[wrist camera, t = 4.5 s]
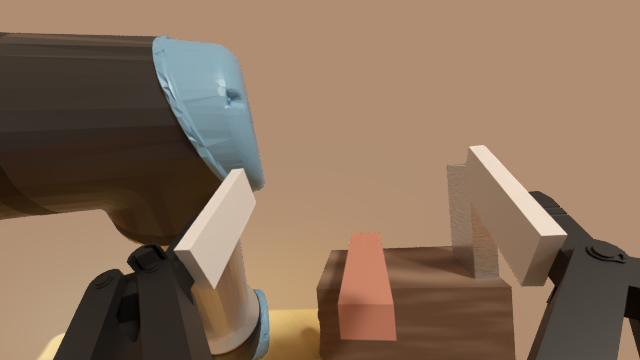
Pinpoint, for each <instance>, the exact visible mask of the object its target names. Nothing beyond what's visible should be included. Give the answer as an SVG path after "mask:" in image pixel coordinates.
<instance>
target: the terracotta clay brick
mask: <svg viewBox="0 0 640 360" xmlns="http://www.w3.org/2000/svg"><path fill="white" fill-rule="evenodd" d="M338 314H339V325H340V336H341V339H350V340H392V341H397V340H396V328H395V315H394V304H393V299H392V294H391V289H390V284H389V279H388V273H387V268H386V263H385V258H384V253H383V248H382V243H381V238H380V233H360V234H351V239H350V244H349V249H348V254H347V259H346V264H345V270H344V275H343V280H342V285H341V290H340V295H339V300H338Z"/></svg>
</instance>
